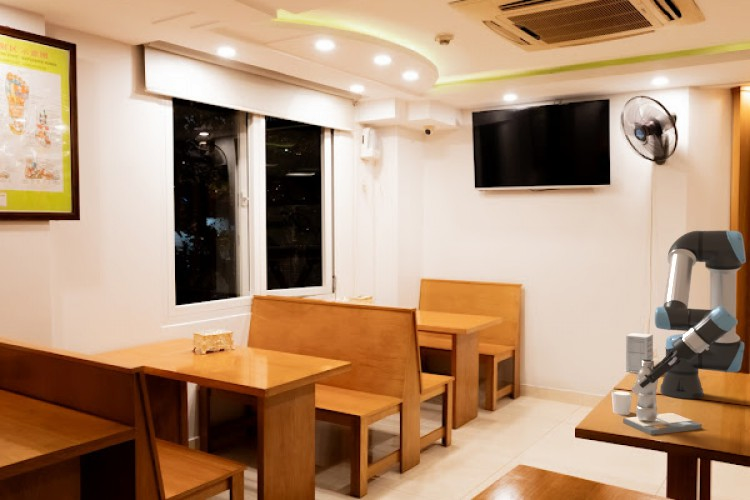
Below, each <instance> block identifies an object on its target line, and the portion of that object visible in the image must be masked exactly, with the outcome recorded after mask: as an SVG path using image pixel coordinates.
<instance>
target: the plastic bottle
mask: <svg viewBox="0 0 750 500" xmlns="http://www.w3.org/2000/svg"><path fill="white" fill-rule="evenodd" d="M654 363H655V362H654V359H653V360H648V359H644V360H642V364H641V366H642V368H641V369H640V370H639V372H638V373H636V374H637V375H636V381H637V382H639V381H641V380H642V379H643V378H644V377H645V376H644V375H645V374H646V375H649V374H650V373H651V372H652V371H654V369H653V367H654V366H655V365H654ZM652 378H653V377H652ZM653 379H654V378H653ZM658 383H659V379H657V380H656V381H655V382H654V383H652V384H650V385H649V386H648V387H647V388H645V389H644V390H643V391H642V392H640V393H639V394H638V395H637V396H638V397H637V405H636V407H635V415H636V416H635V417H637V418H638V419H639V420H642V421H655V420H656V419H657V415H658V414H659V413H658V412H659V411H658V406H657V389H658Z"/></svg>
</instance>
